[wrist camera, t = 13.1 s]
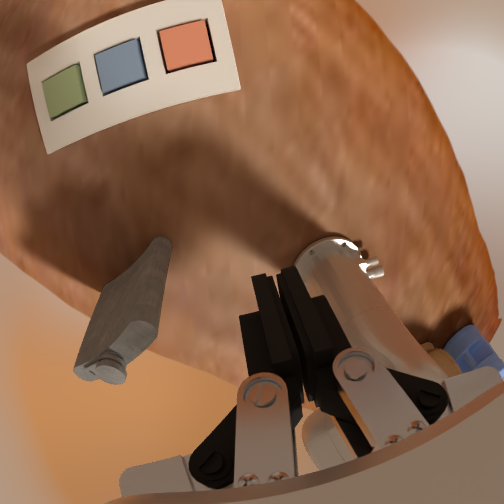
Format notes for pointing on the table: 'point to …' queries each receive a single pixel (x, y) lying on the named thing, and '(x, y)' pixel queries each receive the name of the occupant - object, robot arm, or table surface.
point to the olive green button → (65, 91)
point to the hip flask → (125, 317)
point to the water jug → (472, 351)
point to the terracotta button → (186, 46)
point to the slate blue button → (121, 66)
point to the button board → (160, 81)
